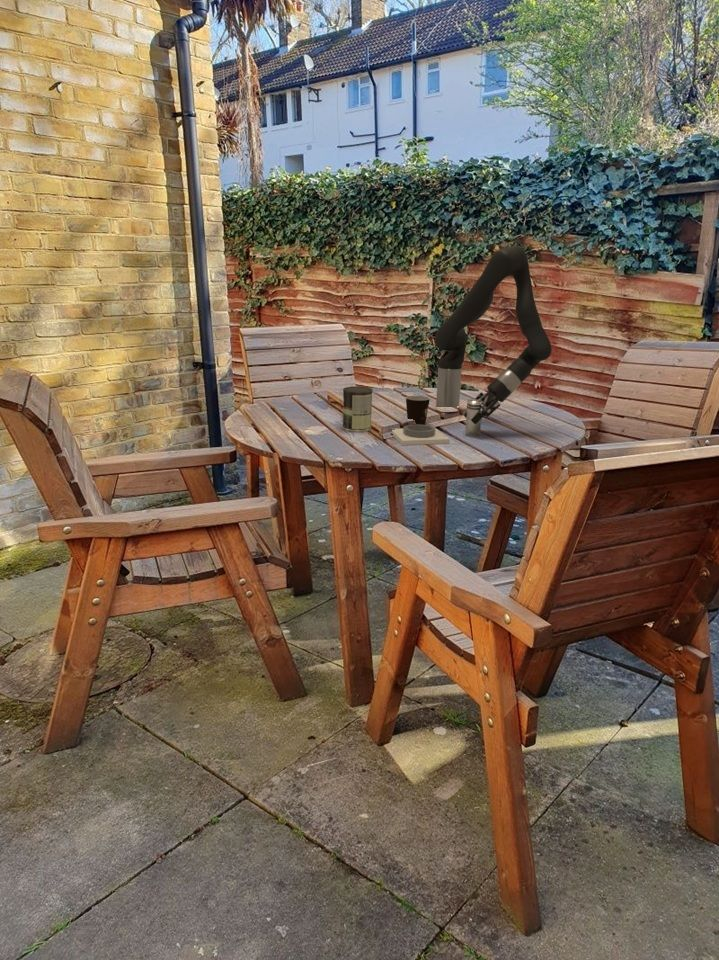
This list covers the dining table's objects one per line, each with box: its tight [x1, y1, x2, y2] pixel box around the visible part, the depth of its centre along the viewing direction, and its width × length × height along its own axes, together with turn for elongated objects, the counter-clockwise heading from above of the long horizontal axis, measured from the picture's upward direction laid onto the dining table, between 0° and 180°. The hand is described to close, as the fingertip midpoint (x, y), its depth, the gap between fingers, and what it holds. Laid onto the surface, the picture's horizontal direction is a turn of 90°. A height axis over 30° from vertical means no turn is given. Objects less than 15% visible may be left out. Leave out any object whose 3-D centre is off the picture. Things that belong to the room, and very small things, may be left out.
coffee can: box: [342, 386, 374, 433], centre depth 237 cm, size 10×10×14 cm
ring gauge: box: [392, 424, 451, 446], centre depth 228 cm, size 16×16×4 cm
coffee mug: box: [405, 395, 431, 425], centre depth 246 cm, size 12×9×10 cm
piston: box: [464, 398, 482, 438], centre depth 232 cm, size 5×5×12 cm
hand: (469, 419), depth 232 cm, fingers open, 6 cm apart
